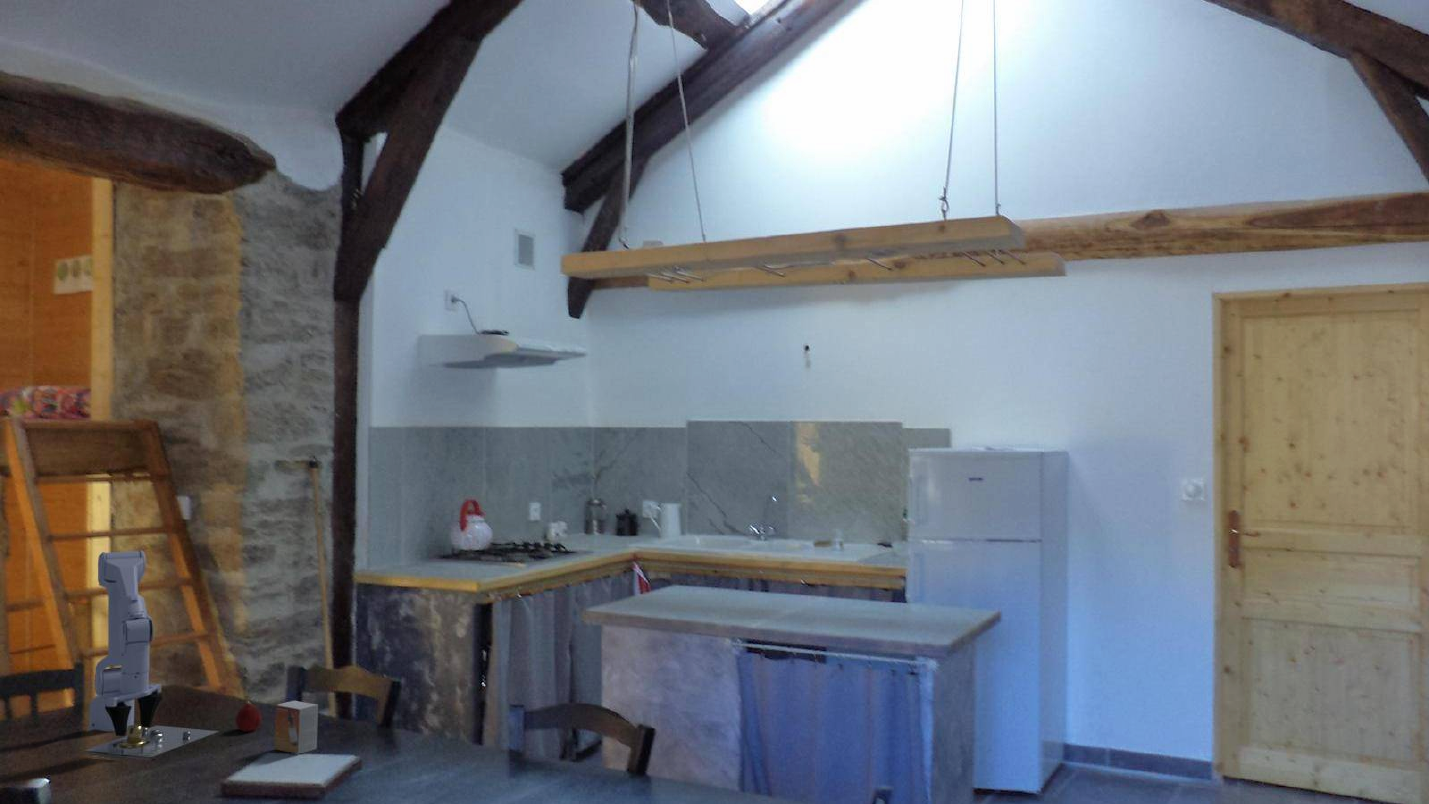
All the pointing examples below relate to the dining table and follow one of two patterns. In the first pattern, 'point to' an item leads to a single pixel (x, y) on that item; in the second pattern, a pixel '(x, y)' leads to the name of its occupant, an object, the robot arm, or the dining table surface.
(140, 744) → the gear
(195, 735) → the carrier plate
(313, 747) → the small box
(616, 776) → the dining table surface
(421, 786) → the dining table surface
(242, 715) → the onion
